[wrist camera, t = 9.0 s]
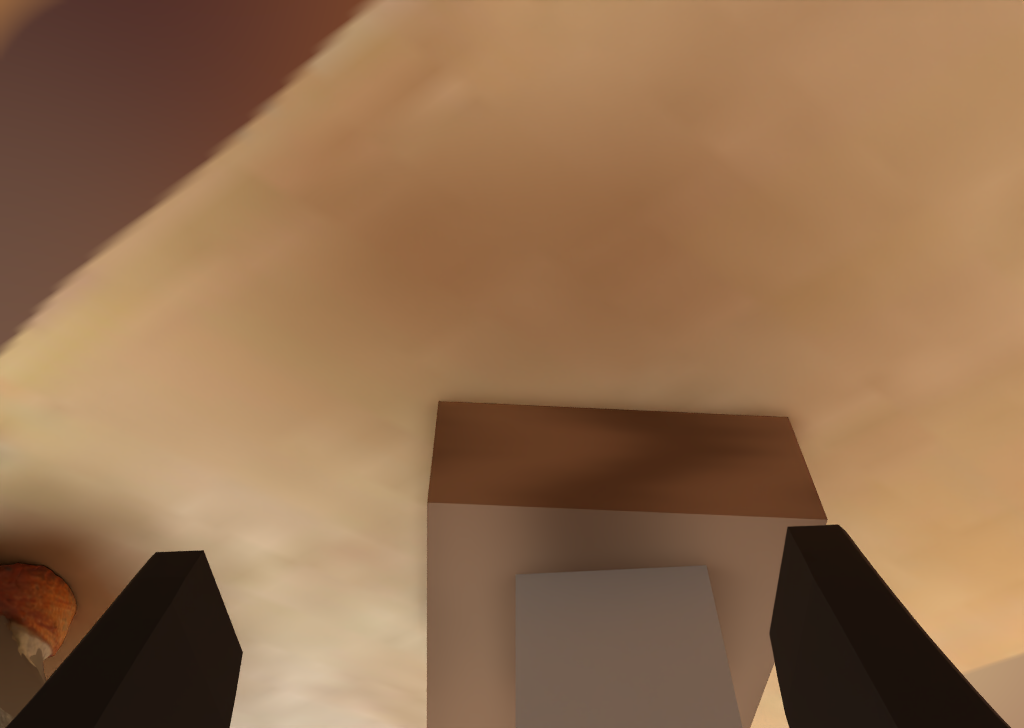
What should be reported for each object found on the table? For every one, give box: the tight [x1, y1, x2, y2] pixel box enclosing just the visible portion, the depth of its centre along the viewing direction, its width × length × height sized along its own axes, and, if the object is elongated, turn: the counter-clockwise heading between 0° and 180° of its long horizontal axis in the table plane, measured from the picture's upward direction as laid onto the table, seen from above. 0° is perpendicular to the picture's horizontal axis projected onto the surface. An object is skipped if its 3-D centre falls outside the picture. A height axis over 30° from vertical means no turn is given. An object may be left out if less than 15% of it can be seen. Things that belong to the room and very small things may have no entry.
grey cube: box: [516, 565, 743, 728], centre depth 21 cm, size 4×4×4 cm
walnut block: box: [427, 401, 828, 728], centre depth 24 cm, size 9×9×4 cm
